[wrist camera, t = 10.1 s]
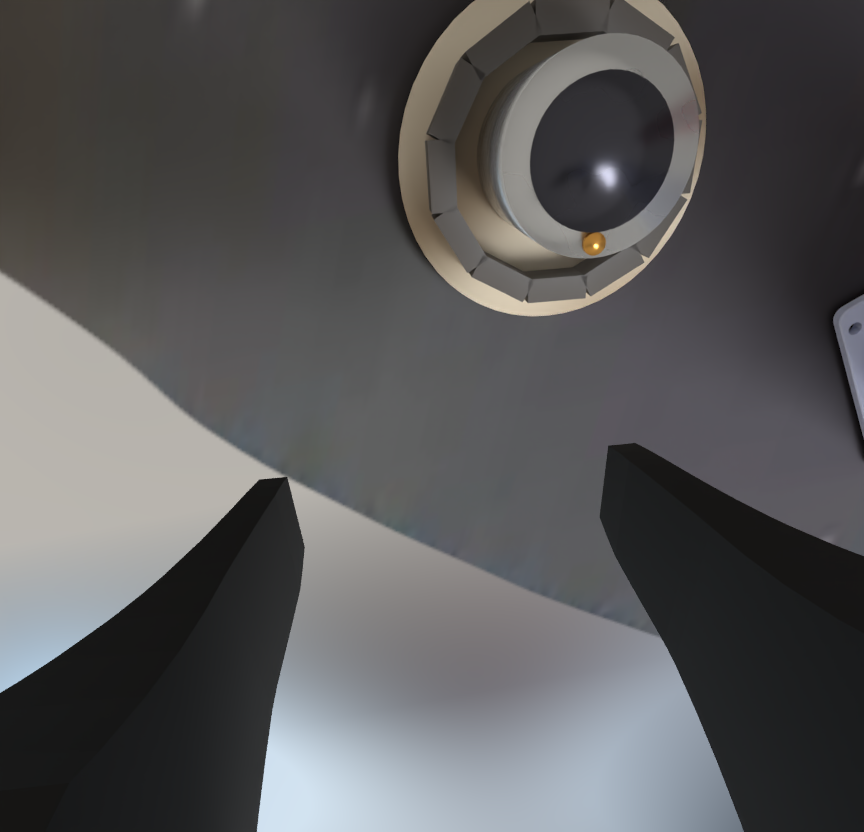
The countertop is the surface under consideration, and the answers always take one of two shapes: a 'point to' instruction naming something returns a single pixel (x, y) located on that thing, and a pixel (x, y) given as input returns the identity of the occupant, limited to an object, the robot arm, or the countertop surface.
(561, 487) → the countertop surface
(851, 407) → the countertop surface
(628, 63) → the lens
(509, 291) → the mount
